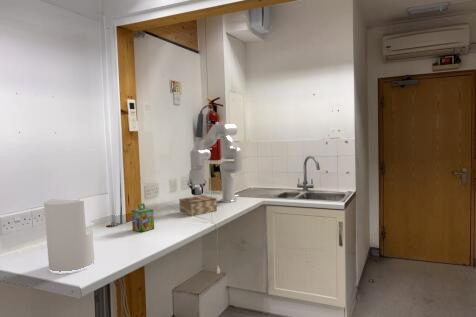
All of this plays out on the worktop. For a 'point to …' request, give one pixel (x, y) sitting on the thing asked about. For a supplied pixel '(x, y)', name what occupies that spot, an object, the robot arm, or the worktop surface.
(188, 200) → the lid
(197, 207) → the storage box
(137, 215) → the green lunch box
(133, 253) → the worktop surface
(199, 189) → the grey knob post
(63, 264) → the cylinder
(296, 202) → the worktop surface
